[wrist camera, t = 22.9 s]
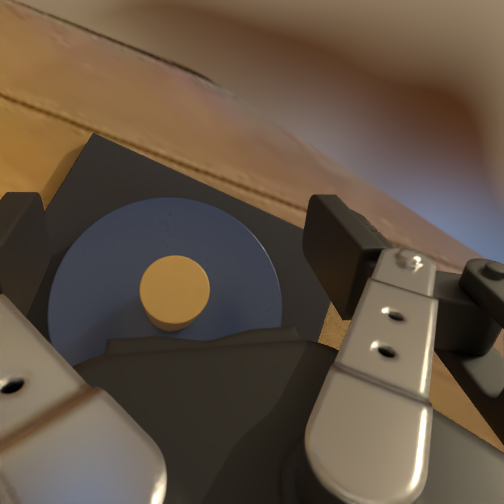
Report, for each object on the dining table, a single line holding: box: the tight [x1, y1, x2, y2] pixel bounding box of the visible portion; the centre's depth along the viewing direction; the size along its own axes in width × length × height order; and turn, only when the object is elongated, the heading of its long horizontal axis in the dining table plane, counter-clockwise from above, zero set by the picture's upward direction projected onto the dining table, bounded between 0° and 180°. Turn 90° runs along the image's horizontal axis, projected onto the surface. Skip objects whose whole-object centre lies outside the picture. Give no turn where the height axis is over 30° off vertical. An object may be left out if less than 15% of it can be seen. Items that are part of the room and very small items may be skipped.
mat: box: [26, 133, 331, 344], centre depth 22 cm, size 17×15×1 cm
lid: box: [47, 197, 282, 367], centre depth 19 cm, size 12×12×6 cm
